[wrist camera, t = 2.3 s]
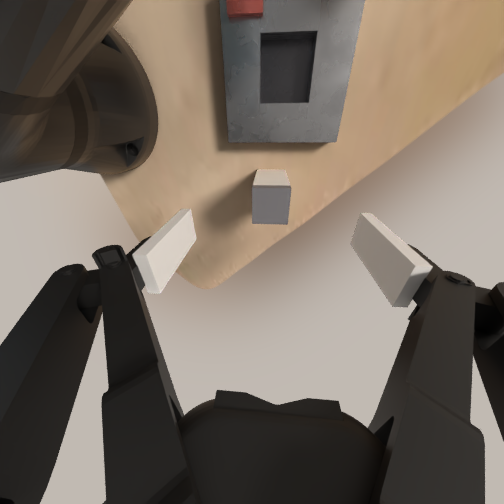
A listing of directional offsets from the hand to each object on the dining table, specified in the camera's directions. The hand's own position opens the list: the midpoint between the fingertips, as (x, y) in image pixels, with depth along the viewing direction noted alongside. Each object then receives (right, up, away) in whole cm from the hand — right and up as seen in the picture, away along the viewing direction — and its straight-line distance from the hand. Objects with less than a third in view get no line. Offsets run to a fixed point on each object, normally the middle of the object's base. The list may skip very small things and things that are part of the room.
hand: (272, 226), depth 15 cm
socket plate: (+2, +16, +5) cm, 17 cm away
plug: (+1, +7, +11) cm, 13 cm away
